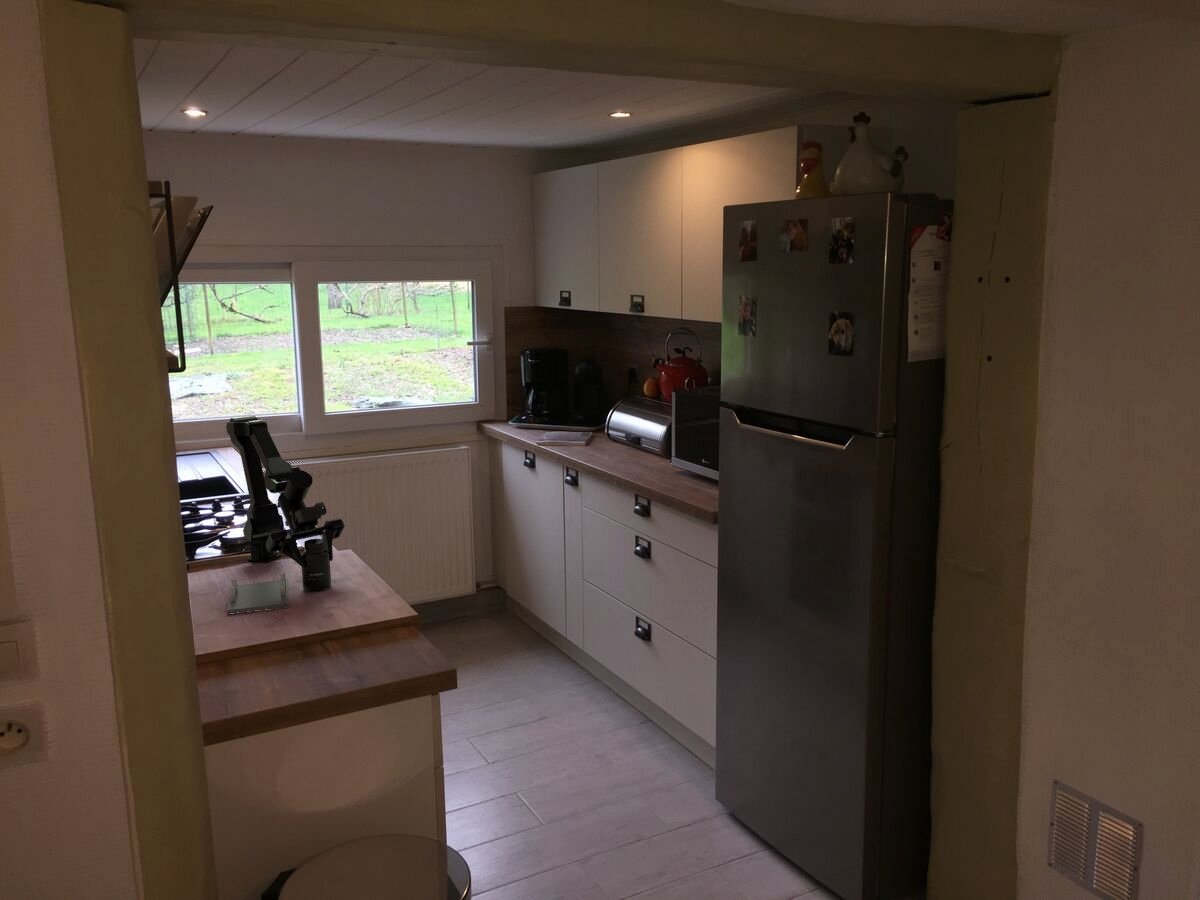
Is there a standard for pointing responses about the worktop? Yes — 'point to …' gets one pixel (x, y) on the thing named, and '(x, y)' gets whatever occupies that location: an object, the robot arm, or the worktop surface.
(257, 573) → the worktop surface
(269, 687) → the worktop surface
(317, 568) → the supplement bottle
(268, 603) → the pin tray
